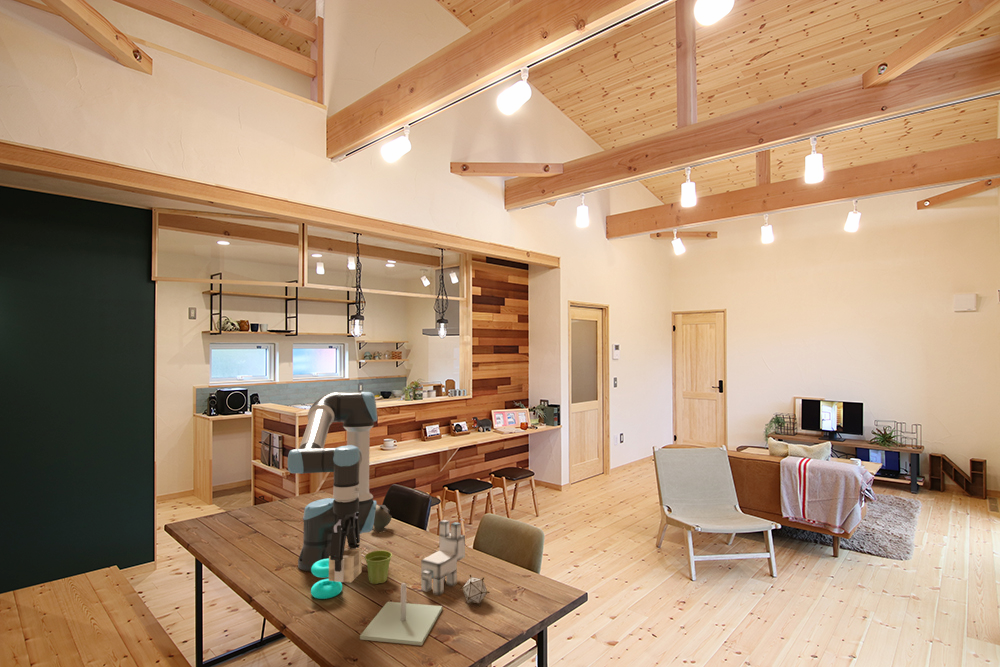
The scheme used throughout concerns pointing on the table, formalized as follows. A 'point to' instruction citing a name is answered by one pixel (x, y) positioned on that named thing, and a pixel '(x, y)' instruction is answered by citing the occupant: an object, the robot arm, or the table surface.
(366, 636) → the stand
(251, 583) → the table surface
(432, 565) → the toy llama
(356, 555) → the bead
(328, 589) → the donuts
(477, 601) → the game die
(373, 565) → the plant pot
